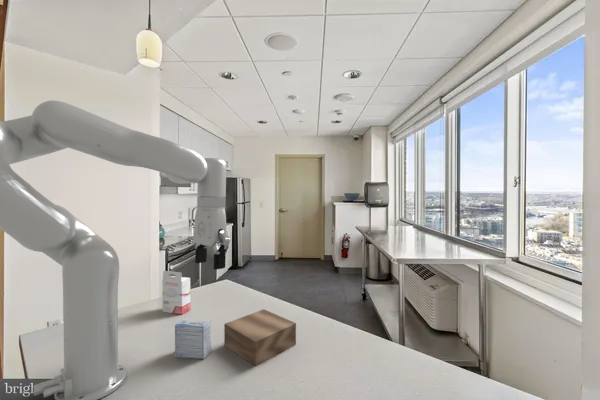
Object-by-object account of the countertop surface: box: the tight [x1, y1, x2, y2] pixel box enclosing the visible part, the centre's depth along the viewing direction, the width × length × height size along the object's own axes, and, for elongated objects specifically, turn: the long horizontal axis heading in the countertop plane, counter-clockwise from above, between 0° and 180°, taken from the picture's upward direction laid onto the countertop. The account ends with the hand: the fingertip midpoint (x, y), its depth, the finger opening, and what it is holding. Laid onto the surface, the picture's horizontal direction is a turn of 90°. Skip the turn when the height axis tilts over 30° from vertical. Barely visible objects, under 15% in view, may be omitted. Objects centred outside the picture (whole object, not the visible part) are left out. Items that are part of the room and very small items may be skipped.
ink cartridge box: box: [161, 270, 192, 315], centre depth 103 cm, size 9×5×15 cm, turn 73°
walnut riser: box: [223, 309, 297, 367], centre depth 80 cm, size 14×14×6 cm
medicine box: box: [174, 317, 212, 360], centre depth 75 cm, size 8×4×9 cm, turn 84°
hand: (209, 265), depth 79 cm, fingers open, 9 cm apart
